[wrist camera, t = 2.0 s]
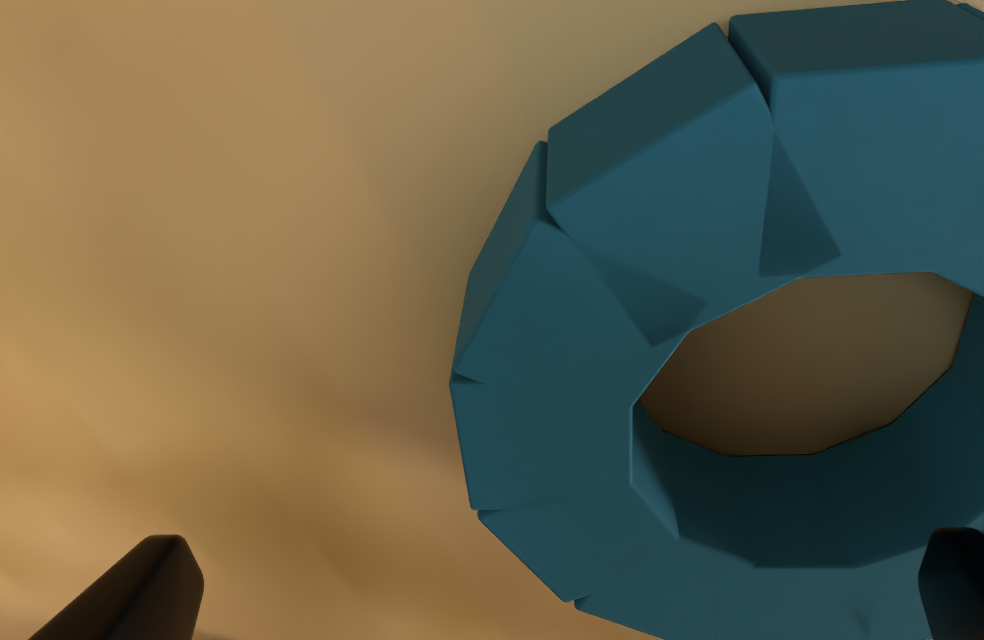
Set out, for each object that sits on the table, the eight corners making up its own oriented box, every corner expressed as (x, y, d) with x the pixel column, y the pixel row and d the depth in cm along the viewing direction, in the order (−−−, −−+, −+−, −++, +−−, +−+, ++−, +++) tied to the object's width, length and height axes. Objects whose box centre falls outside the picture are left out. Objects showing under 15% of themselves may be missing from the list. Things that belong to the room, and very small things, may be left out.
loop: (503, 544, 16) (495, 654, 14) (430, 40, 10) (398, 103, 8) (1031, 540, 14) (1106, 660, 12) (1293, -36, 9) (1506, 17, 7)
